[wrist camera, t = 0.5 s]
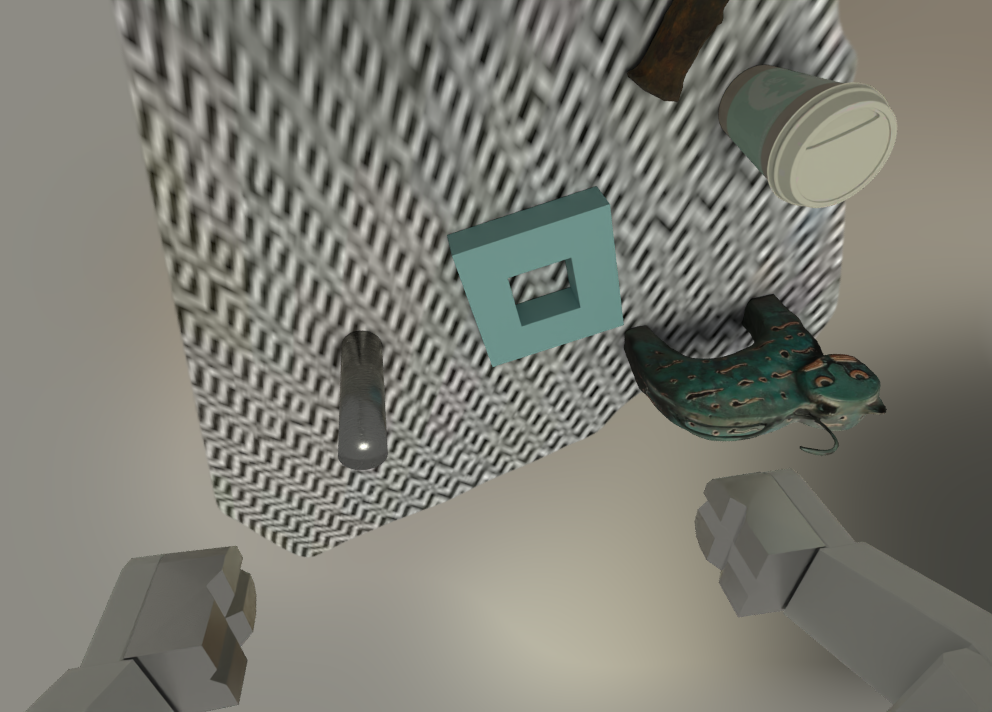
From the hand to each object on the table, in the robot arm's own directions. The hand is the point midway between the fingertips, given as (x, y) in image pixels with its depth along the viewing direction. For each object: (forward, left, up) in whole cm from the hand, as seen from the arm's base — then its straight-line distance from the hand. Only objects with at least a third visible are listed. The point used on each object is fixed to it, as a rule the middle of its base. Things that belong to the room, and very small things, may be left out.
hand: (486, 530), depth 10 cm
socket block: (+23, +6, -39) cm, 46 cm away
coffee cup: (+13, +27, -39) cm, 49 cm away
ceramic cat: (+37, +23, -39) cm, 59 cm away
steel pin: (+25, -13, -39) cm, 48 cm away
